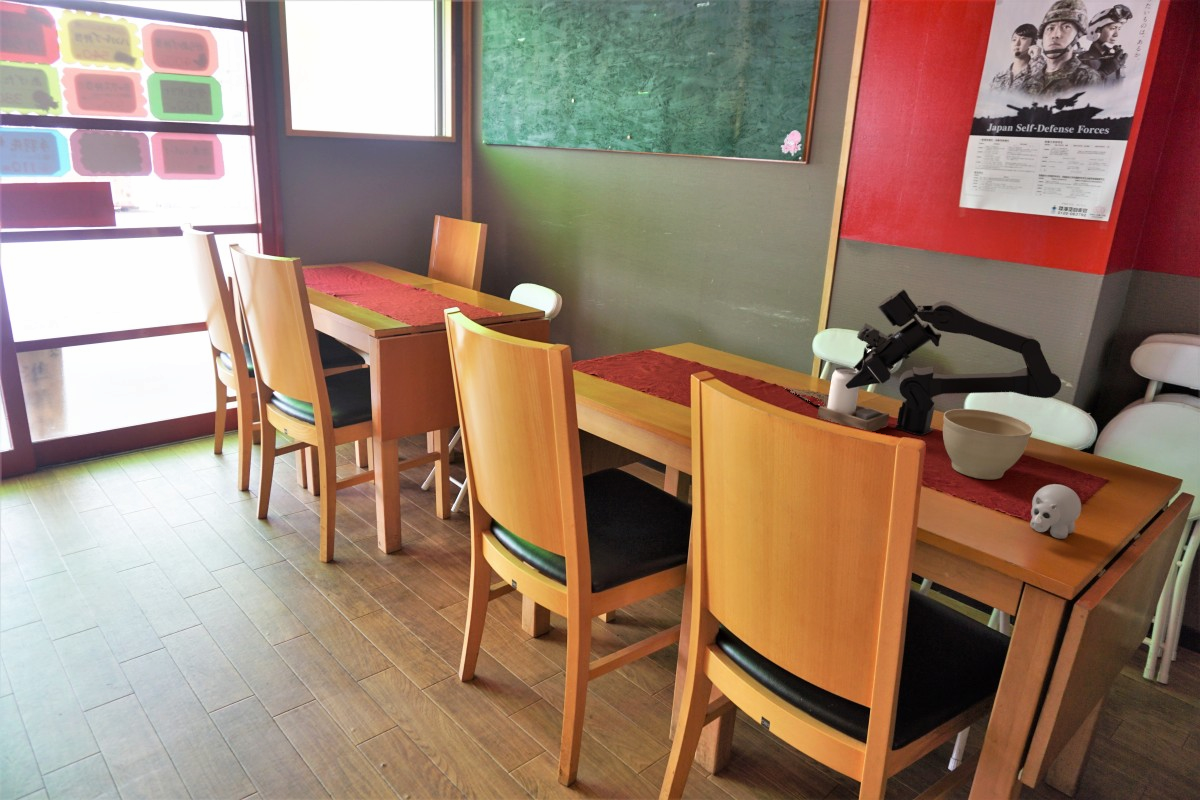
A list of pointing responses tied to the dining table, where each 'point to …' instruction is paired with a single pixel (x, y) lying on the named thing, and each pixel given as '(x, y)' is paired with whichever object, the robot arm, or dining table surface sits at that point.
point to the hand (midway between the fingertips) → (847, 381)
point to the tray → (854, 418)
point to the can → (843, 391)
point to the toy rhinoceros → (1055, 510)
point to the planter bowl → (984, 441)
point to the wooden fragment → (811, 393)
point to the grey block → (867, 414)
